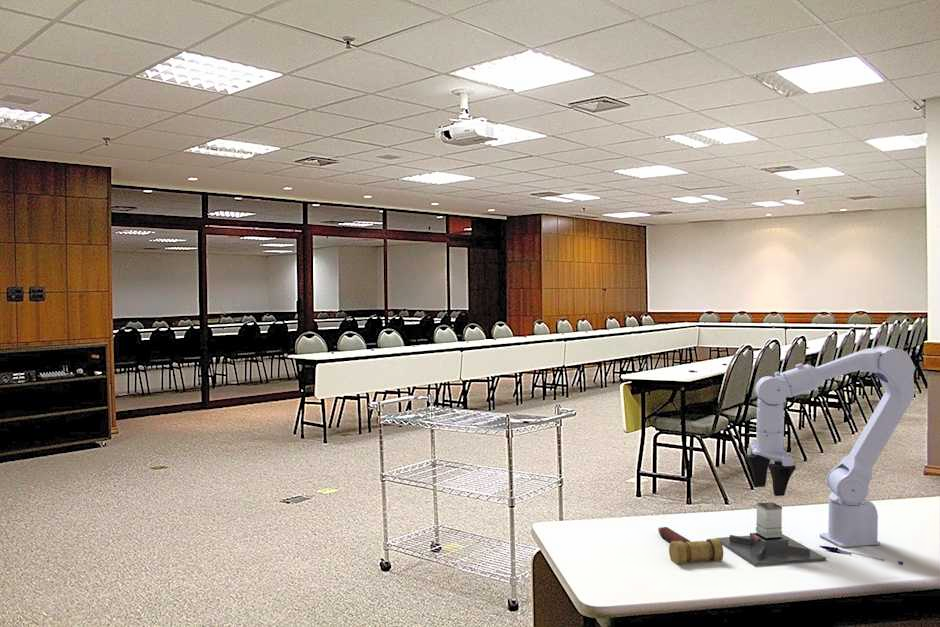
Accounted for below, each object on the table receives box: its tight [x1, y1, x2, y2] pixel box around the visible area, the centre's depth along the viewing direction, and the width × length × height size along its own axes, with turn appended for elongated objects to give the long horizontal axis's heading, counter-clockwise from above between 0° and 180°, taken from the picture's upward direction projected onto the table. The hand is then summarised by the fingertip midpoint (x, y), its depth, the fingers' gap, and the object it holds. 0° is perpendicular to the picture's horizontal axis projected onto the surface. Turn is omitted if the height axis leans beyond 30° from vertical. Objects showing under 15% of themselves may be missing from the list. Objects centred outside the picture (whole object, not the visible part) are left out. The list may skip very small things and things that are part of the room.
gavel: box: [657, 526, 724, 565], centre depth 170 cm, size 21×5×10 cm
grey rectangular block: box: [755, 501, 783, 538], centre depth 167 cm, size 4×4×6 cm
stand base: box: [716, 532, 827, 567], centre depth 167 cm, size 16×16×3 cm
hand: (769, 490), depth 176 cm, fingers open, 7 cm apart
